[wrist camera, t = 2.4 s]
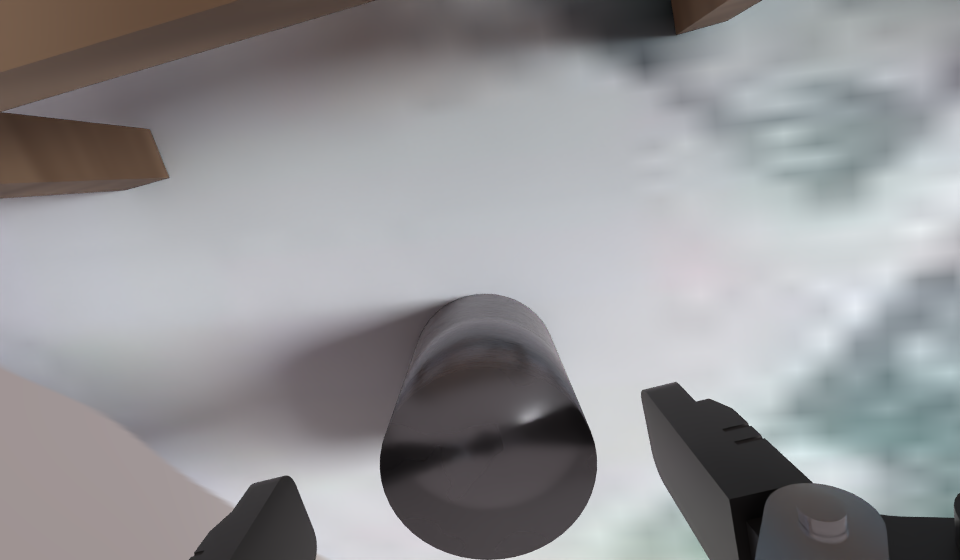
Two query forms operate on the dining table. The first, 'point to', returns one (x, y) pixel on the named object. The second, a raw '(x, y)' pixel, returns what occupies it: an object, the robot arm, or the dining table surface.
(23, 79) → the trapdoor frame
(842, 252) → the dining table surface
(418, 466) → the cylinder
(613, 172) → the dining table surface
